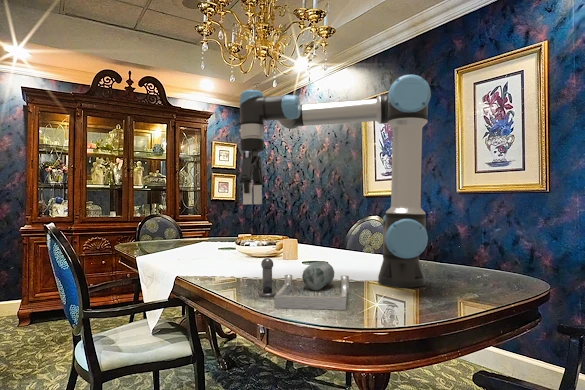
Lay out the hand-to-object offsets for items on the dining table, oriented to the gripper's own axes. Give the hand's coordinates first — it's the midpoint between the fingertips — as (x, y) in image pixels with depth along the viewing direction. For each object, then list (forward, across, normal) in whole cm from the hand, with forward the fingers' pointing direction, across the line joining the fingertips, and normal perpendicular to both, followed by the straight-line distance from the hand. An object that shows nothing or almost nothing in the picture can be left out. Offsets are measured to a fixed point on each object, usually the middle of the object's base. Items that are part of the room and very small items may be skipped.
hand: (253, 204), depth 128 cm
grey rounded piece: (+27, -3, +21) cm, 34 cm away
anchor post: (+27, +10, +6) cm, 29 cm away
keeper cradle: (+27, +14, +20) cm, 37 cm away
